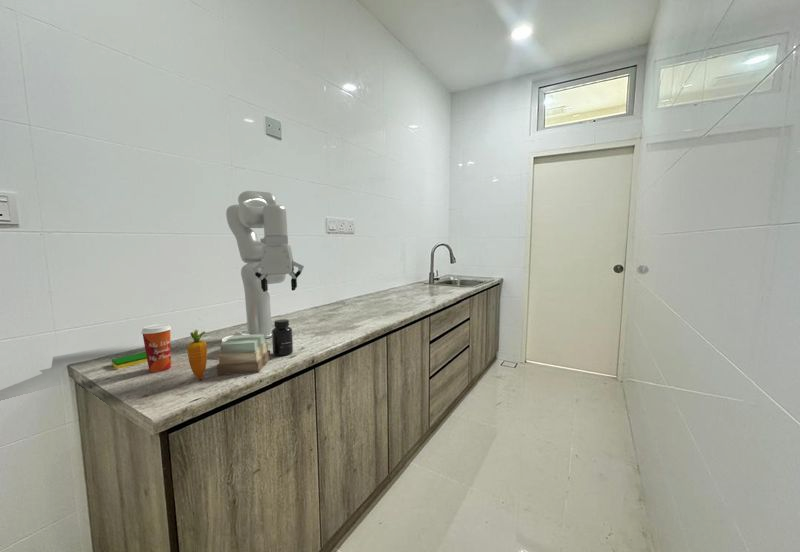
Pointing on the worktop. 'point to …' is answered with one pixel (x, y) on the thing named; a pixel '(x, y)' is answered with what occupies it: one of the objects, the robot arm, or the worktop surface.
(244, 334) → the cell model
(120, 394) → the worktop surface
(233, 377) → the worktop surface
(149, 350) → the paper cup
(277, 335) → the supplement bottle
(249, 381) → the worktop surface
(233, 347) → the layered stepped block
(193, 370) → the carrot
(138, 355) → the dish sponge
